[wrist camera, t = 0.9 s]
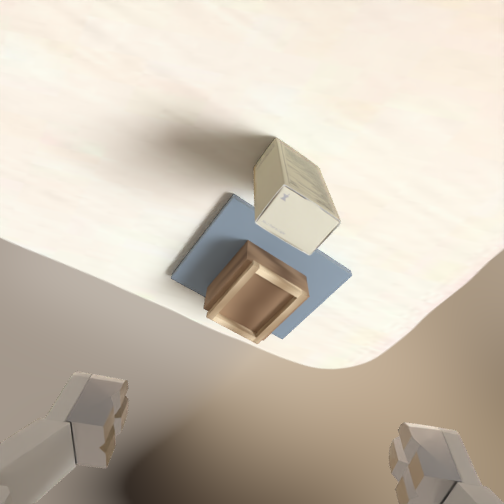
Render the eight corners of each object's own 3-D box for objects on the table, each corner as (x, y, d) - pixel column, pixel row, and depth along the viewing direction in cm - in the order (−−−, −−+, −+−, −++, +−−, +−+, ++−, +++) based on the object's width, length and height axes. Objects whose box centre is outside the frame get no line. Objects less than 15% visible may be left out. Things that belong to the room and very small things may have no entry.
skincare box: (252, 167, 43) (249, 222, 33) (276, 134, 41) (282, 181, 31) (298, 198, 45) (308, 258, 35) (323, 167, 43) (343, 222, 33)
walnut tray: (206, 289, 51) (201, 314, 47) (249, 238, 47) (248, 261, 43) (261, 320, 54) (262, 346, 50) (307, 274, 49) (311, 299, 45)
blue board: (172, 273, 51) (170, 278, 50) (233, 193, 45) (233, 197, 44) (282, 334, 56) (282, 339, 56) (350, 270, 50) (352, 275, 49)
